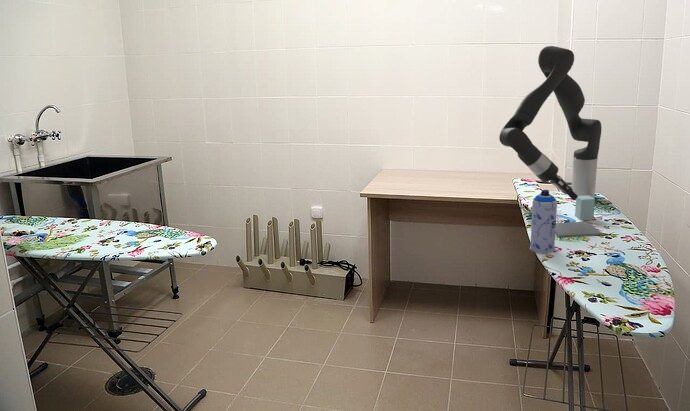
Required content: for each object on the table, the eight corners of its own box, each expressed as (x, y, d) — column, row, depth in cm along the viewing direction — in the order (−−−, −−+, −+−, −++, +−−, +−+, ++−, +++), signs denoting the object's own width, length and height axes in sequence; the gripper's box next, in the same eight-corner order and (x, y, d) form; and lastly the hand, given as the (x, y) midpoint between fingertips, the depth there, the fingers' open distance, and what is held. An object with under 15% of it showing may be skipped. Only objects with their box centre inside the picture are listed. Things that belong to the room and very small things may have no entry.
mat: (546, 225, 210) (546, 223, 210) (587, 223, 210) (587, 221, 210) (559, 237, 197) (559, 235, 197) (602, 234, 197) (602, 233, 197)
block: (574, 216, 218) (576, 196, 216) (587, 215, 218) (589, 195, 216) (580, 220, 214) (581, 199, 211) (593, 219, 214) (595, 199, 211)
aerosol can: (551, 254, 182) (555, 194, 176) (526, 251, 186) (529, 192, 181) (557, 247, 188) (560, 188, 183) (533, 243, 193) (535, 186, 187)
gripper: (556, 163, 203) (586, 193, 206) (543, 155, 216) (571, 183, 220) (541, 178, 204) (571, 207, 207) (528, 170, 218) (557, 197, 221)
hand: (571, 195), depth 213 cm, fingers open, 8 cm apart
